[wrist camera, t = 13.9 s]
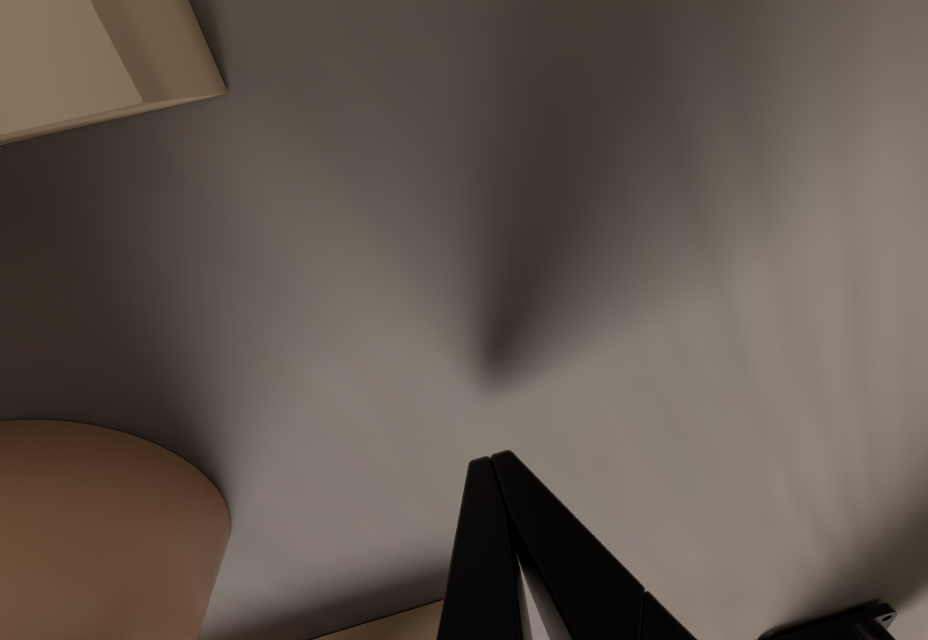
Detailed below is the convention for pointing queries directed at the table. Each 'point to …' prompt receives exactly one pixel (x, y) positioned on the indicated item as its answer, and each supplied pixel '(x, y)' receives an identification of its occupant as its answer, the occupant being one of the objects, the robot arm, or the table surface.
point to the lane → (124, 113)
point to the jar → (103, 536)
